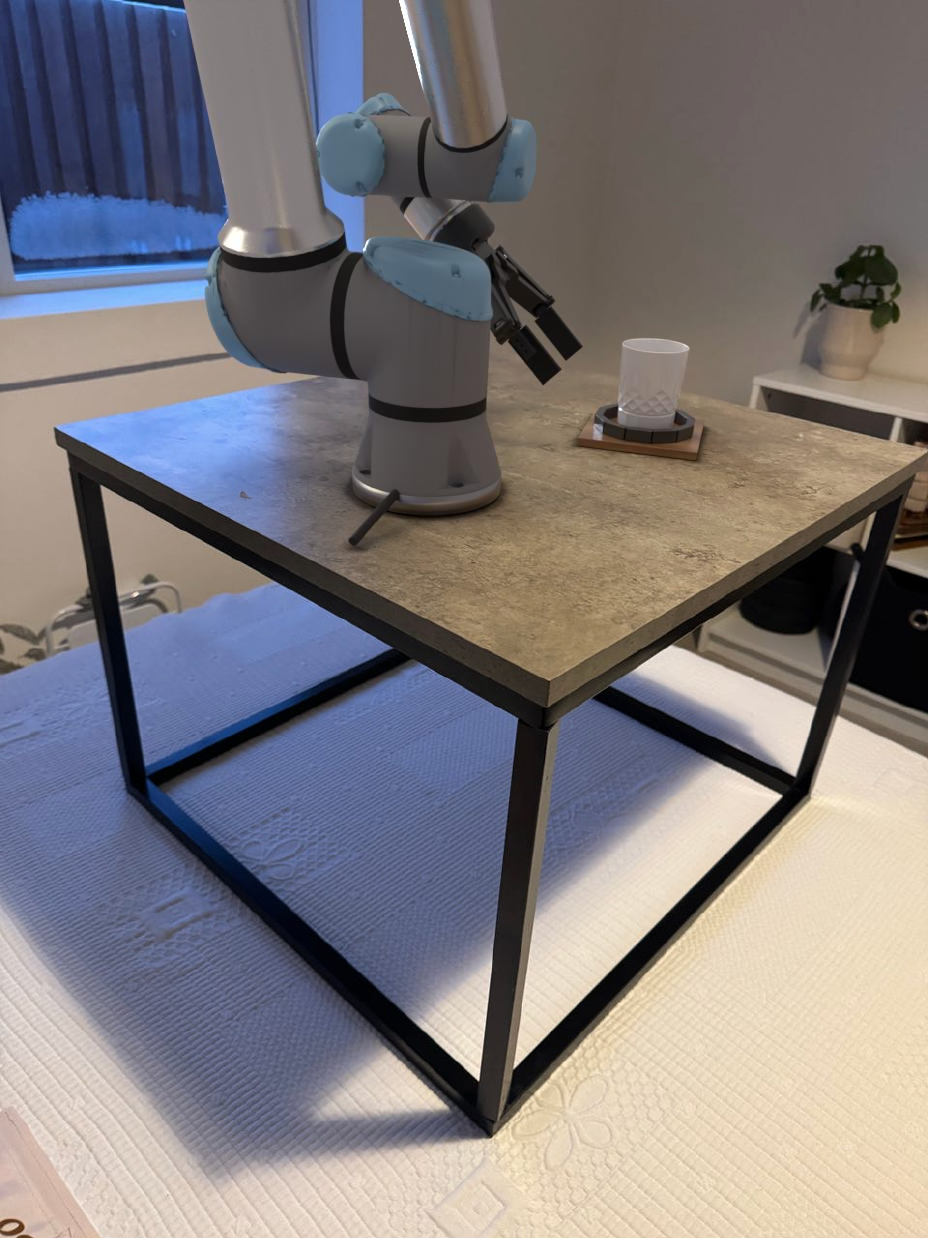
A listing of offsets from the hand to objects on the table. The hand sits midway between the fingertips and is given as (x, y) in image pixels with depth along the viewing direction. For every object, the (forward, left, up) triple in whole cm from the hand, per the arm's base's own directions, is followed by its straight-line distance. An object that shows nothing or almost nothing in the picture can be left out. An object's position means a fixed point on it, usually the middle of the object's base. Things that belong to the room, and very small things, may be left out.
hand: (564, 365), depth 105 cm
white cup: (0, -11, -7) cm, 13 cm away
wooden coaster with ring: (0, -11, -8) cm, 13 cm away
